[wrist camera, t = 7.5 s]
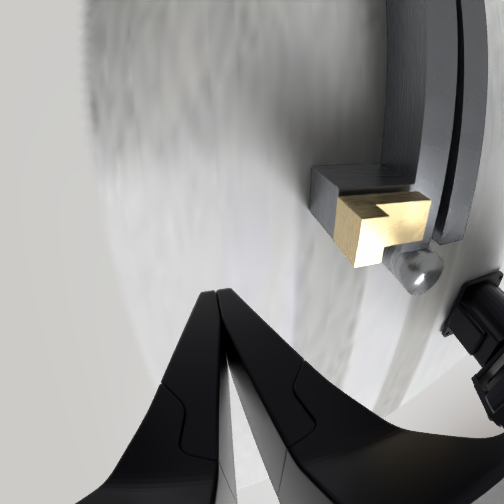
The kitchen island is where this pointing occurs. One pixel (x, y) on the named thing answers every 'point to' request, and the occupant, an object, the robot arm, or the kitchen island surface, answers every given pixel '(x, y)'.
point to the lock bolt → (378, 223)
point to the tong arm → (454, 153)
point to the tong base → (405, 116)
